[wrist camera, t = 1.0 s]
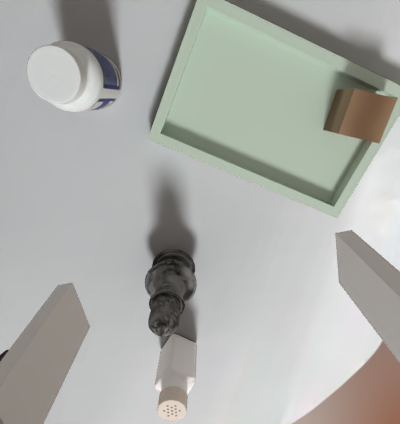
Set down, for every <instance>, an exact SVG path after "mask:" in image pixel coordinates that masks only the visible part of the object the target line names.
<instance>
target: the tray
mask: <svg viewBox="0 0 400 424" xmlns="http://www.w3.org/2000/svg"><path fill="white" fill-rule="evenodd" d="M353 88H355V89H359V90H363V91H368V92H372V93H376V94H380V95H384V96H388V97H392V98H396V99H397V101H396V104H395V106H394V109H393V111H392V114H391V116H390V119H389V121H388V123H387V126H386V128H385V131H384V133H383V136H382V138H381V141H380V143H375V142H371V141H366V140H362V139H358V138H354V137H349V136H345V135H341V134H337V133H333V132H329V131H325V130H323V129H324V126H325V123H326V120H327V117H328V114H329V111H330V109H331V106H332V103H333V100H334V97H335V94H336V91H337V90H340V89H353ZM399 115H400V85H398V84H396V83H394V82H392V81H390V80H388V79H386V78H384V77H382V76H380V75H378V74H376V73H373V72H371V71H369V70H367V69H365V68H363V67H361V66H359V65H357V64H355V63H353V62H351V61H349V60H347V59H345V58H343V57H341V56H338V55H336V54H334V53H332V52H330V51H328V50H326V49H324V48H322V47H320V46H318V45H316V44H314V43H312V42H310V41H308V40H306V39H303V38H301V37H299V36H297V35H295V34H293V33H291V32H289V31H287V30H285V29H283V28H281V27H279V26H277V25H275V24H273V23H270V22H268V21H266V20H264V19H262V18H260V17H258V16H256V15H254V14H252V13H250V12H248V11H246V10H244V9H242V8H240V7H238V6H235V5H233V4H231V3H229V2H227V1H225V0H197V1H196V4H195V7H194V10H193V13H192V15H191V18H190V21H189V24H188V27H187V29H186V32H185V35H184V38H183V41H182V44H181V46H180V49H179V52H178V55H177V58H176V61H175V63H174V66H173V69H172V72H171V75H170V77H169V80H168V83H167V86H166V89H165V92H164V94H163V97H162V100H161V103H160V106H159V109H158V111H157V114H156V117H155V120H154V123H153V125H152V128H151V131H150V134H149V137H148V139H149V140H151V141H154V142H156V143H158V144H161V145H163V146H166V147H168V148H170V149H173V150H175V151H178V152H180V153H182V154H185V155H187V156H190V157H192V158H194V159H197V160H199V161H202V162H204V163H206V164H209V165H211V166H213V167H216V168H218V169H221V170H223V171H225V172H228V173H230V174H233V175H235V176H237V177H240V178H242V179H245V180H247V181H249V182H252V183H254V184H257V185H259V186H261V187H264V188H266V189H268V190H271V191H273V192H276V193H278V194H280V195H283V196H285V197H288V198H290V199H292V200H295V201H297V202H300V203H302V204H304V205H307V206H309V207H312V208H314V209H316V210H319V211H321V212H323V213H326V214H328V215H331V216H333V217H335V218H338V216H339V214H340V213H341V211H342V210H343V208H344V206H345V205H346V203H347V201H348V200H349V198H350V196H351V195H352V193H353V191H354V190H355V188H356V186H357V185H358V183H359V181H360V180H361V178H362V176H363V175H364V173H365V171H366V170H367V168H368V166H369V165H370V163H371V161H372V160H373V158H374V156H375V155H376V153H377V151H378V150H379V148H380V146H381V145H382V143H383V141H384V140H385V138H386V137H387V135H388V133H389V132H390V130H391V128H392V127H393V125H394V123H395V122H396V120H397V118H398V117H399Z"/></svg>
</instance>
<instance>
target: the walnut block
mask: <svg viewBox="0 0 400 424" xmlns="http://www.w3.org/2000/svg"><path fill="white" fill-rule="evenodd" d="M396 101H397V99H396V98H392V97H388V96H384V95H380V94H376V93H372V92H368V91H363V90H359V89H355V88H353V89H340V90H337V91H336V94H335V97H334V100H333V103H332V106H331V109H330V111H329V114H328V117H327V120H326V123H325V126H324V129H323V130H325V131H329V132H333V133H337V134H341V135H345V136H349V137H354V138H358V139H362V140H366V141H371V142H375V143H380V141H381V138H382V136H383V133H384V131H385V128H386V126H387V123H388V121H389V119H390V116H391V114H392V111H393V109H394V106H395V104H396Z"/></svg>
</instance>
